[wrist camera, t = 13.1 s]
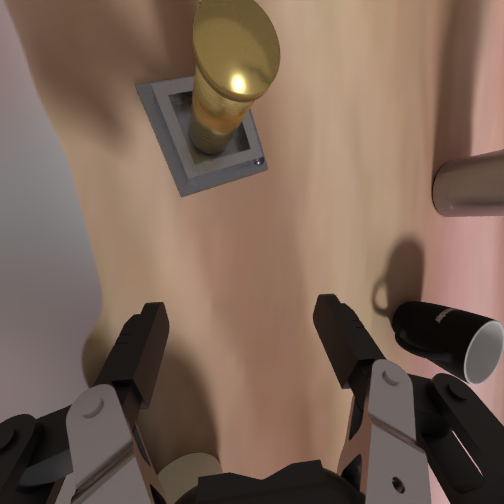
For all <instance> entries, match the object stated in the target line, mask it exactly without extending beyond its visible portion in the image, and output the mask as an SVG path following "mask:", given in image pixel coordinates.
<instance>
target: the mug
mask: <svg viewBox="0 0 504 504" xmlns="http://www.w3.org/2000/svg"><path fill="white" fill-rule="evenodd" d="M393 329H394V332H395V339H396V342H397V343H398V344H399V345H400V346H401V347H402V348H403V349H405V350H406V351H408V352H410V353H412V354H414V355H417V356H420V357H423V358H427V359H428V360H430V361H431V362H433V363H435V364H436V365H438V366H439V367H441V368H443V369H444V370H446V371H448V372H449V373H451V374H453V375H454V376H456V377H458V378H460V379H461V380H463V381H465V382H467V383H469V384H472V385H479V384H481V383H483V382H485V381H486V380H487V379H488V378H489V377H490V376H491V375H492V374H493V372H494V371H495V369H496V368H497V366H498V364H499V362H500V359H501V357H502V354H503V350H504V328H503V326H502V324H501V323H500V322H498V321H496V320H494V319H491V318H488V317H485V316H481V315H478V314H474V313H470V312H467V311H463V310H459V309H455V308H450V307H446V306H442V305H437V304H432V303H426V302H417V301H412V302H406V303H404V304H403V305H401V306H400V307H399V308H398V310H397V311H396V313H395V315H394V319H393Z"/></svg>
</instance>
